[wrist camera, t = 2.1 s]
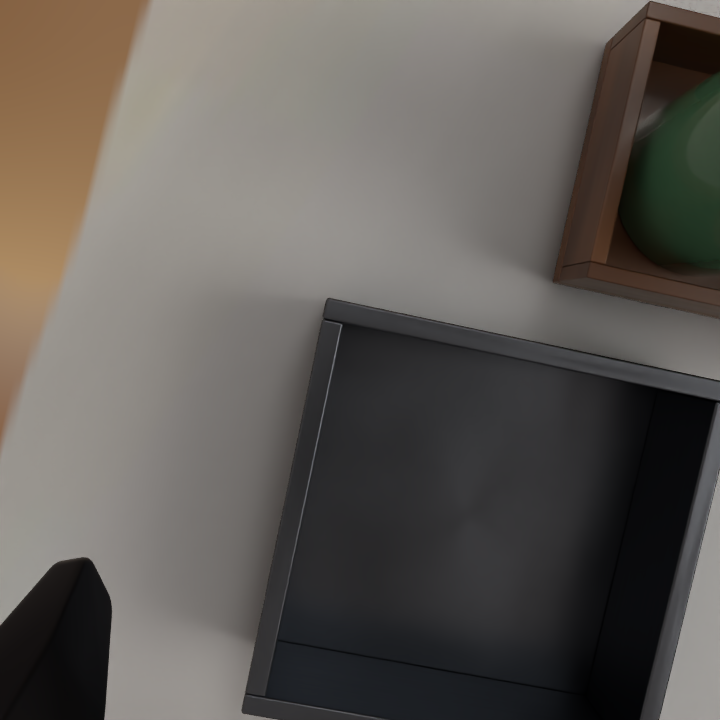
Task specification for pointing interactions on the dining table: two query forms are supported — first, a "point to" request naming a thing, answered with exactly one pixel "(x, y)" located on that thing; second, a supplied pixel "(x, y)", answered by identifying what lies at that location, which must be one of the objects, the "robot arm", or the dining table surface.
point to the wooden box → (612, 154)
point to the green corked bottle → (677, 183)
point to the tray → (482, 529)
